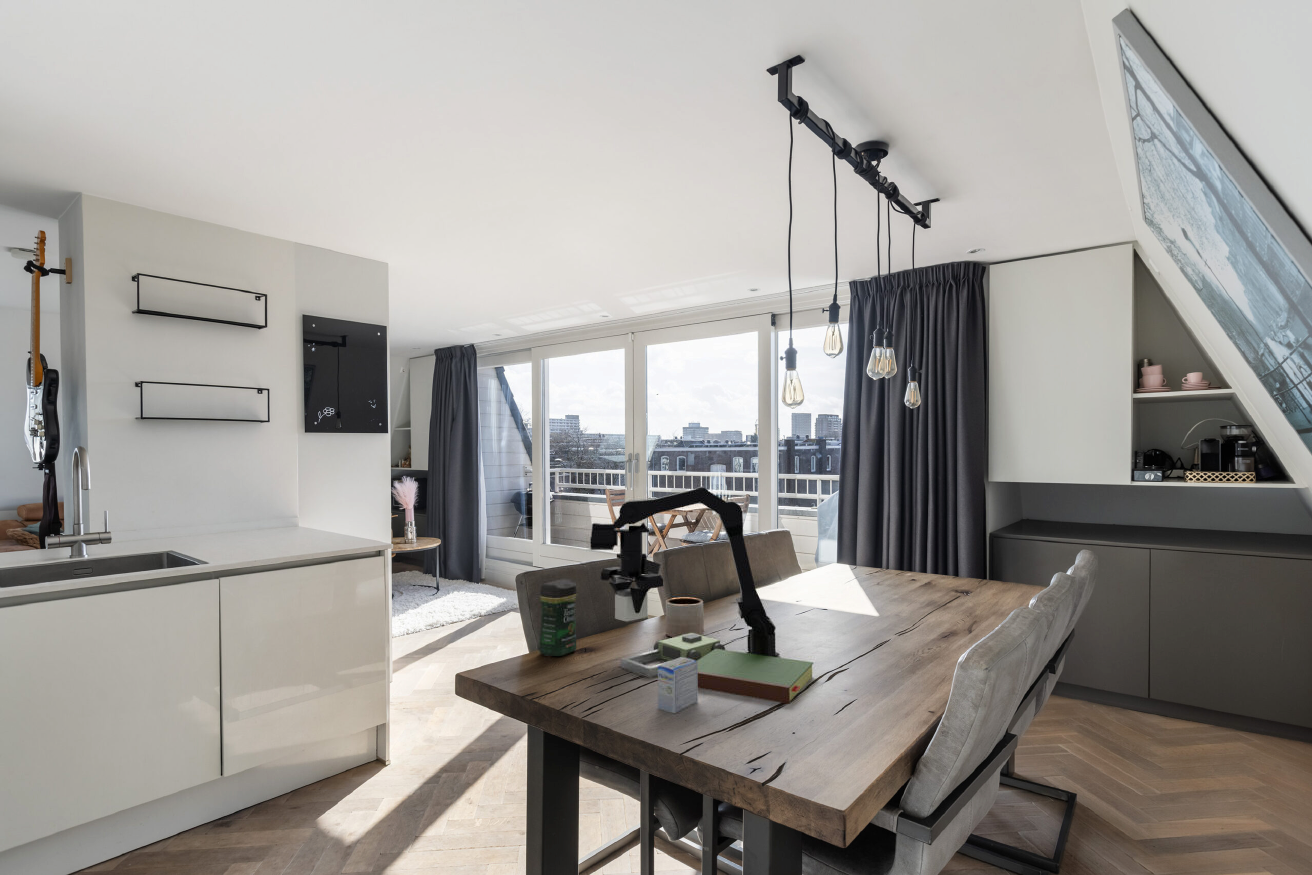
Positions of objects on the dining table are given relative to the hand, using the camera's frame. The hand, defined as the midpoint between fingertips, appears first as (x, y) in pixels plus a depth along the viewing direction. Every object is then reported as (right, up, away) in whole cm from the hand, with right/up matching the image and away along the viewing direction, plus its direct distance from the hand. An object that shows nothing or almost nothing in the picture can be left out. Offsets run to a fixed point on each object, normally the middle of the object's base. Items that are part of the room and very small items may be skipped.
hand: (631, 611), depth 168 cm
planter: (+14, -12, +20) cm, 27 cm away
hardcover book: (+27, -11, -20) cm, 36 cm away
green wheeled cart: (+15, -11, -2) cm, 18 cm away
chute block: (0, -2, 0) cm, 2 cm away
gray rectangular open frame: (+6, -11, -9) cm, 15 cm away
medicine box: (+11, -10, -35) cm, 38 cm away
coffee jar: (-19, -12, +3) cm, 23 cm away
